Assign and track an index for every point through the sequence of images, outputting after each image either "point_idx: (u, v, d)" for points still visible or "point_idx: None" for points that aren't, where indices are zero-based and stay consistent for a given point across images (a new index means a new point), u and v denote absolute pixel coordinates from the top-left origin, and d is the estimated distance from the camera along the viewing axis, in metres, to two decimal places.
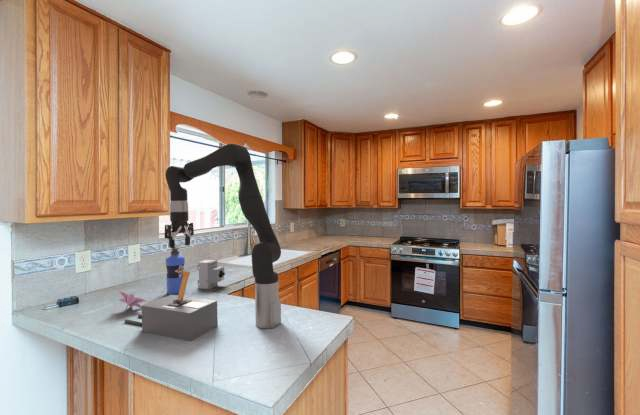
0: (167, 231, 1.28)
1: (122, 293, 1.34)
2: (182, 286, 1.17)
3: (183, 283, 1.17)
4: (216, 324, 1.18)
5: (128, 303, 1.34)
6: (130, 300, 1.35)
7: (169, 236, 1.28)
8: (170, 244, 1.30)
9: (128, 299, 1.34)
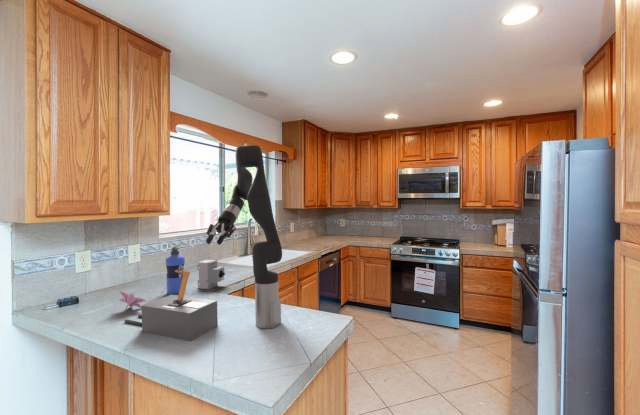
0: None
1: (122, 293, 1.35)
2: (182, 286, 1.17)
3: (183, 283, 1.17)
4: (216, 324, 1.18)
5: (128, 303, 1.35)
6: (130, 300, 1.35)
7: (207, 232, 1.38)
8: None
9: (128, 299, 1.35)
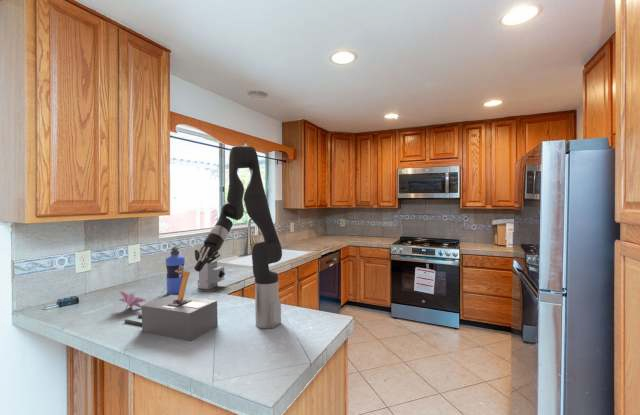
0: None
1: (122, 293, 1.35)
2: (182, 286, 1.17)
3: (183, 283, 1.17)
4: (216, 324, 1.18)
5: (128, 303, 1.35)
6: (130, 300, 1.35)
7: (196, 258, 1.28)
8: None
9: (128, 299, 1.35)
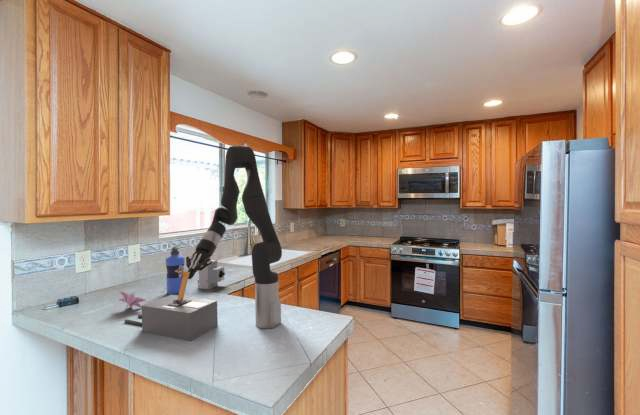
0: None
1: (122, 293, 1.35)
2: (182, 286, 1.17)
3: (183, 283, 1.17)
4: (216, 324, 1.18)
5: (128, 303, 1.35)
6: (130, 300, 1.35)
7: (187, 265, 1.23)
8: None
9: (128, 299, 1.35)
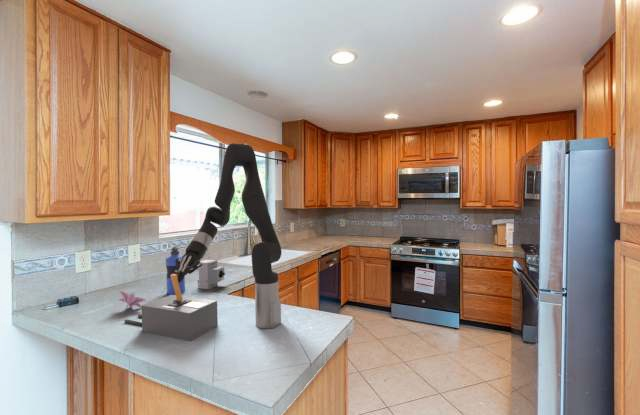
0: None
1: (122, 293, 1.35)
2: (176, 289, 1.14)
3: (175, 286, 1.14)
4: (216, 324, 1.18)
5: (128, 303, 1.35)
6: (130, 300, 1.35)
7: (176, 267, 1.19)
8: None
9: (128, 299, 1.35)
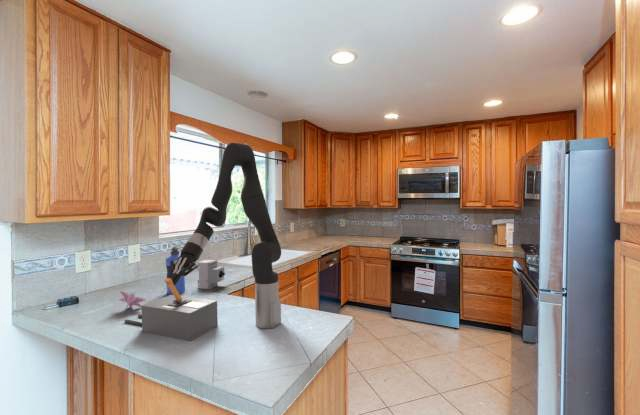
0: None
1: (122, 293, 1.35)
2: (173, 291, 1.13)
3: (172, 289, 1.12)
4: (216, 324, 1.18)
5: (128, 302, 1.35)
6: (130, 299, 1.35)
7: (171, 269, 1.16)
8: None
9: (128, 298, 1.35)
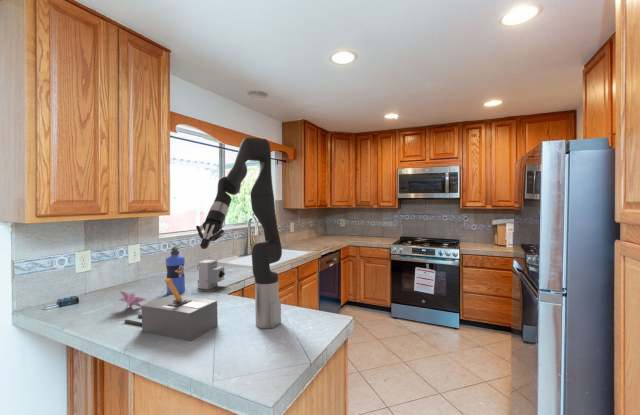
0: (198, 232, 1.29)
1: (122, 292, 1.35)
2: (173, 291, 1.13)
3: (172, 289, 1.12)
4: (216, 324, 1.18)
5: (128, 302, 1.35)
6: (130, 299, 1.36)
7: (200, 235, 1.27)
8: None
9: (128, 298, 1.35)
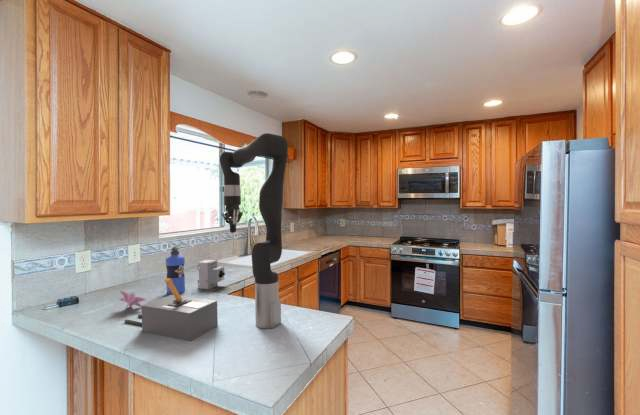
0: (227, 218, 1.34)
1: (122, 292, 1.35)
2: (173, 291, 1.13)
3: (172, 289, 1.12)
4: (216, 324, 1.18)
5: (128, 302, 1.36)
6: (130, 299, 1.36)
7: (230, 221, 1.36)
8: (231, 229, 1.38)
9: (128, 298, 1.36)
